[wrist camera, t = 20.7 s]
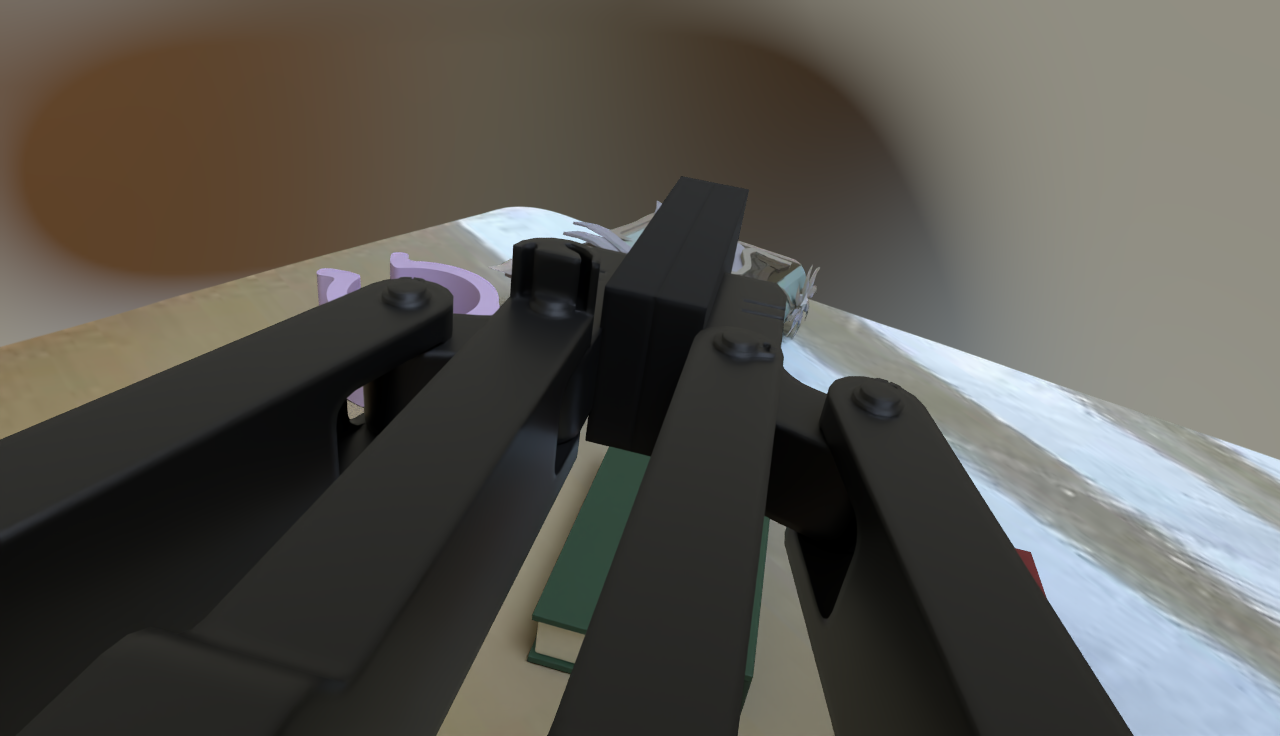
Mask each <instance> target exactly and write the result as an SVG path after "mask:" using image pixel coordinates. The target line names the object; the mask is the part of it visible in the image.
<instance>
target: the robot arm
mask: <svg viewBox="0 0 1280 736" xmlns="http://www.w3.org/2000/svg"><path fill="white" fill-rule="evenodd" d="M748 192H749V190H748V189H743V188H738V187H733V186H728V185H723V184H718V183H713V182H708V181H703V180H698V179H693V178H688V177H683V176H681V177H680V179H679V180H678V182H677V183H676V185H675V186H674V187H673V189H672V191H671V192H670V193H669V195H668V196H667V198H666V199H665V200H664V202H663V203H662V205H661V206H660V208H659V209H658V210H657V212H656V213H655V215H654V216H653V218H652V219H651V220H650V222H649V223H648V225H647V226H646V228H645V229H644V231H643V232H642V233H641V235H640V236H639V238H638V239H637V241H636V242H635V243H634V245H633V246H632V248H631V249H630V251H629V252H628V253H623V252H618V251H614V250H609V249H604V248H600V247H595V246H593V247H588V246H586V245H584V244H581V243H578V242H574V241H571V240H565V239H558V238H533V239H528V240H522V241H520V242H519V243H517V244H515V245H513V259H512V275H511V292H510V297H509V298H508V299H507V300H506V301H505V302H504V304H503V305H502V306H501V307H500V308H499V309H498V310H497V311H496V312H495V313H494V314H493V315H471V314H456V313H453V298H454V296H453V295H452V294H451V292H450V291H449V290H448V289H447V288H445V287H443V286H441V285H439V284H437V283H434V282H430V281H426V280H425V279H423V278H416V277H414V278H413V279H412V277H400V278H398V279H387V280H383V281H380V282H376V283H372V284H370V285H367V286H365V287H363V288H360V289H358V290H356V291H353V292H351V293H348V294H346V295H344V296H341V297H339V298H337V299H334V300H332V301H329V302H327V303H325V304H322V305H320V306H317V307H315V308H313V309H310V310H308V311H306V312H303V313H301V314H298V315H296V316H294V317H291V318H289V319H287V320H284V321H282V322H279V323H277V324H275V325H272V326H270V327H267V328H265V329H263V330H260V331H258V332H256V333H253V334H251V335H248V336H246V337H244V338H241V339H239V340H236V341H234V342H232V343H229V344H227V345H225V346H222V347H220V348H217V349H215V350H213V351H210V352H208V353H206V354H203V355H201V356H198V357H196V358H194V359H191V360H189V361H186V362H184V363H182V364H179V365H177V366H175V367H172V368H170V369H167V370H165V371H163V372H160V373H158V374H156V375H153V376H151V377H148V378H146V379H144V380H141V381H139V382H136V383H134V384H132V385H129V386H127V387H125V388H122V389H120V390H117V391H115V392H113V393H110V394H108V395H105V396H103V397H101V398H98V399H96V400H94V401H91V402H89V403H86V404H84V405H82V406H79V407H77V408H75V409H72V410H70V411H67V412H65V413H63V414H60V415H58V416H55V417H53V418H51V419H48V420H46V421H44V422H41V423H39V424H36V425H34V426H32V427H29V428H27V429H25V430H22V431H20V432H17V433H15V434H13V435H10V436H8V437H5V438H3V439H1V440H0V736H436V735H437V733H438V731H439V729H440V727H441V725H442V723H443V721H444V719H445V717H446V715H447V713H448V711H449V709H450V707H451V705H452V703H453V701H454V699H455V697H456V695H457V693H458V691H459V689H460V687H461V685H462V683H463V681H464V679H465V677H466V676H467V674H468V672H469V670H470V668H471V666H472V664H473V662H474V660H475V658H476V656H477V654H478V652H479V650H480V648H481V646H482V644H483V642H484V640H485V638H486V636H487V634H488V632H489V630H490V628H491V626H492V624H493V622H494V620H495V618H496V616H497V614H498V612H499V610H500V608H501V606H502V604H503V602H504V600H505V598H506V596H507V594H508V592H509V591H510V589H511V587H512V585H513V583H514V581H515V579H516V577H517V575H518V573H519V571H520V569H521V567H522V565H523V563H524V561H525V559H526V557H527V555H528V553H529V551H530V549H531V547H532V545H533V543H534V541H535V539H536V537H537V535H538V533H539V531H540V529H541V527H542V525H543V523H544V521H545V519H546V517H547V515H548V513H549V511H550V509H551V507H552V506H553V504H554V502H555V500H556V498H557V496H558V494H559V492H560V490H561V488H562V486H563V484H564V482H565V480H566V478H567V476H568V474H569V472H570V470H571V468H572V466H573V464H574V462H575V460H576V458H577V453H578V446H579V438H580V430H581V428H582V426H583V425H584V423H585V421H586V419H587V417H588V424H587V432H586V440H585V441H589V442H593V443H597V444H601V445H606V446H610V447H614V448H618V449H622V450H626V451H630V452H634V453H638V454H642V455H646V456H650V460H649V463H648V465H647V468H646V471H645V474H644V476H643V479H642V482H641V484H640V487H639V490H638V493H637V495H636V498H635V501H634V504H633V506H632V509H631V512H630V514H629V517H628V520H627V523H626V525H625V528H624V531H623V533H622V536H621V539H620V542H619V544H618V547H617V550H616V552H615V555H614V558H613V561H612V563H611V566H610V569H609V572H608V574H607V577H606V580H605V582H604V585H603V588H602V591H601V593H600V596H599V599H598V601H597V604H596V607H595V610H594V612H593V615H592V618H591V620H590V623H589V626H588V629H587V631H586V634H585V637H584V640H583V642H582V645H581V648H580V650H579V653H578V656H577V659H576V661H575V664H574V667H573V669H572V672H571V675H570V678H569V680H568V683H567V686H566V689H565V691H564V694H563V697H562V699H561V702H560V705H559V708H558V710H557V713H556V716H555V718H554V721H553V723H552V726H551V728H550V731H549V733H548V735H547V736H738V728H739V719H740V711H741V703H742V695H743V687H744V678H745V670H746V662H747V654H748V646H749V638H750V629H751V621H752V613H753V605H754V597H755V589H756V580H757V572H758V564H759V556H760V548H761V539H762V531H763V523H764V516H766V517H768V518H770V519H772V520H774V521H776V522H778V523H780V524H782V525H784V526H786V531H785V547H786V551H787V555H788V559H789V563H790V566H791V570H792V574H793V578H794V582H795V585H796V589H797V593H798V597H799V601H800V604H801V608H802V612H803V616H804V620H805V623H806V627H807V631H808V635H809V639H810V642H811V646H812V650H813V654H814V658H815V661H816V665H817V669H818V673H819V677H820V680H821V684H822V688H823V692H824V695H825V699H826V703H827V707H828V711H829V714H830V718H831V722H832V726H833V730H834V733H835V736H1134V735H1133V734H1132V732H1131V731H1130V729H1129V728H1128V726H1127V724H1126V723H1125V721H1124V720H1123V718H1122V717H1121V715H1120V713H1119V712H1118V710H1117V709H1116V707H1115V706H1114V704H1113V702H1112V701H1111V699H1110V698H1109V696H1108V694H1107V693H1106V691H1105V690H1104V688H1103V687H1102V685H1101V683H1100V682H1099V680H1098V679H1097V677H1096V676H1095V674H1094V672H1093V671H1092V669H1091V668H1090V666H1089V665H1088V663H1087V661H1086V660H1085V658H1084V657H1083V655H1082V653H1081V652H1080V650H1079V649H1078V647H1077V646H1076V644H1075V642H1074V641H1073V639H1072V638H1071V636H1070V635H1069V633H1068V631H1067V630H1066V628H1065V627H1064V625H1063V624H1062V622H1061V620H1060V619H1059V617H1058V616H1057V614H1056V612H1055V611H1054V609H1053V608H1052V606H1051V605H1050V603H1049V601H1048V600H1047V598H1046V597H1045V595H1044V594H1043V592H1042V590H1041V589H1040V587H1039V586H1038V584H1037V583H1036V581H1035V579H1034V578H1033V576H1032V575H1031V573H1030V571H1029V570H1028V568H1027V567H1026V565H1025V564H1024V562H1023V560H1022V559H1021V557H1020V556H1019V554H1018V553H1017V551H1016V549H1015V548H1014V546H1013V545H1012V543H1011V542H1010V540H1009V538H1008V537H1007V535H1006V534H1005V532H1004V530H1003V529H1002V527H1001V526H1000V524H999V523H998V521H997V519H996V518H995V516H994V515H993V513H992V512H991V510H990V508H989V507H988V505H987V504H986V502H985V500H984V499H983V497H982V496H981V494H980V493H979V491H978V489H977V488H976V486H975V485H974V483H973V482H972V480H971V478H970V477H969V475H968V474H967V472H966V471H965V469H964V467H963V466H962V464H961V463H960V461H959V459H958V458H957V456H956V455H955V453H954V452H953V450H952V448H951V447H950V445H949V444H948V442H947V441H946V439H945V437H944V436H943V434H942V433H941V431H940V430H939V428H938V426H937V425H936V423H935V422H934V420H933V418H932V417H931V415H930V414H929V412H928V411H927V409H926V407H925V406H924V405H923V404H922V403H921V402H920V401H919V400H918V399H917V398H916V397H915V396H914V395H912V394H911V393H909V392H907V391H906V390H904V389H903V388H901V386H899V385H897V384H895V383H892V382H890V383H888V381H887V380H884V379H880V378H875V379H874V378H869V377H862V376H848V377H844V378H841V379H837V380H835V381H834V382H833V383H832V385H831V386H830V387H829V390H828V393H827V394H826V393H823V392H821V391H818V390H816V389H813V388H811V387H809V386H807V385H805V384H803V383H801V382H800V381H798V380H797V379H795V378H794V377H792V376H791V375H790V374H789V373H788V372H787V371H786V370H785V369H784V367H783V360H784V356H783V353H782V349H781V341H782V333H783V325H784V317H785V309H786V302H787V295H786V294H785V293H784V291H783V290H782V289H781V287H780V286H779V285H778V283H774V282H769V281H765V280H760V279H755V278H750V277H746V276H741V275H736V274H732V273H731V272H732V267H733V262H734V258H735V253H736V248H737V244H738V239H739V234H740V229H741V225H742V220H743V215H744V210H745V206H746V201H747V197H748ZM361 387H363V397H364V413H362V414H361V415H359V416H357V417H356V418H353V419H349V416H348V411H347V398H348V397H349V396H350V395H351V394H352V393H353V392H354V391H356V390H357V389H359V388H361ZM588 415H589V416H588Z"/></svg>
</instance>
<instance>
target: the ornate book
mask: <svg viewBox="0 0 1280 736" xmlns="http://www.w3.org/2000/svg"><path fill="white" fill-rule="evenodd" d="M661 205H662V203H660V202H658V201H657V208H656V211H655V213H656V212H657V210H658V209H659V208H660V206H661ZM655 213H652V214H649V215H647V216H645V217H643V218H641V219H640V220H638V221H635V222H633V223H631V224H628V225H625V226H622V227H618V228H615V229H612V230H609V229H606V228H604V227H601V226H599V225H596V224H590V223H586V222H574V223H573V224H575V225H579V226H583V227H587V228H588V229H590V230H592V231H594V232H595V233H597V234H599V235H601V236H603V237H600V236H596V235H593V234H589V233H586V232H579V231H572V232H564V233H563V235H566V236H571V237H575V238H579V239H581V240H584V241H587V242H586V243H583V244H584V245H586V246H588V247H593V246H595V247H600V248H604V249H609V250H614V251H618V252H623V253H628V252H629V251H630V249H631V248H632V246H633V245H634V243H635V242H636V241H637V239H638V238H639V236H640V235H641V233H642V232H643V231H644V229H645V228H646V226H647V225H648V223H649V222H650V220H651V219H652V218H653V216H654V215H655ZM488 268H491V269H494V270H498V271H501V272H504V273H505V276H507V277H509V278H511V275H512V259H510V260H508V261H506V262H504V263H502V264H501V265H496V266H491V267H488ZM811 269H812V267H811V268H810V270H809V272H808V274H807V277H806V275H805V272H804V270H803V268H802V266H801V264H800V263H799V262H797V261H796V260H794V259H792V258H789V257H786V256H782V255H780V254H777V253H774V252H771V251H768V250H765V249H762V248H759V247H756V246H753V245H750V244H747V243H744V242H740V241H738V244H737V248H736V253H735V258H734V262H733V267H732V272H731V273H732V274H736V275H741V276H746V277H750V278H755V279H760V280H765V281H769V282H774V283H778V285H779V286H780V287H781V289H782V290H783V291H784V293H785V294H786V295H787V302H786V309H785V317H784V323H785V322H786V321H787V320H788V321H789V322H790V321H791V320H793V318H794V317H795V316H796V317H795V318H794V321H793V324H792V327H791V329H790V331H789V332H788V334H787V335H786V336H785V337H787V336H788V335H789V334H790V333H791V331H792V330H793V328H794V326H795V324H796V323H797V321H798V324H797V328H796V331H795V334H796V332H797V330H798V328H799V325H800V323H801V320H802V317H803V309H804V311H805V312H806V316H807V314H808V310H809V301H808V299H807V298H808V297H810V298H811V297H812V296H813V294H814V292H815V293H816V288H817V287H816V286H813V283H814V280H815V277H816V274H817V272H818V270H819V269H820V267H819V268H817V269H816V270H815V272H814V273H813V275H812V277H811V279H810V282H809V277H810V273H811ZM812 286H813V287H812ZM797 313H798V314H797ZM805 319H806V317H805ZM795 334H794V336H795ZM794 336H793V337H794ZM792 339H793V338H792Z"/></svg>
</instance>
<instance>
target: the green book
mask: <svg viewBox="0 0 1280 736" xmlns="http://www.w3.org/2000/svg"><path fill="white" fill-rule="evenodd" d="M649 460H650V456H646V455H642V454H638V453H634V452H630V451H626V450H622V449H618V448H614V447H610V446H609V448H608V450H607V453H606V455H605V457H604V459H603V461H602V464H601V466H600V468H599V470H598V472H597V475H596V477H595V479H594V481H593V483H592V485H591V488H590V490H589V492H588V494H587V496H586V499H585V501H584V503H583V505H582V507H581V509H580V512H579V514H578V516H577V518H576V520H575V523H574V525H573V527H572V529H571V531H570V534H569V536H568V538H567V540H566V542H565V544H564V547H563V549H562V551H561V553H560V555H559V558H558V560H557V562H556V564H555V566H554V569H553V571H552V573H551V575H550V577H549V579H548V582H547V584H546V586H545V588H544V590H543V593H542V595H541V597H540V599H539V601H538V604H537V606H536V608H535V610H534V612H533V614H532V620H534V621H538V629H537V636H536V639H535V641H534V643H533V646H532V648H531V650H530V652H529V655H528V661H529V662H533V663H536V664H540V665H543V666H546V667H550V668H553V669H557V670H560V671H564V672H567V673H571V672H572V669H573V667H574V664H575V661H576V659H577V656H578V653H579V650H580V648H581V645H582V642H583V640H584V637H585V634H586V631H587V629H588V626H589V623H590V620H591V618H592V615H593V612H594V610H595V607H596V604H597V601H598V599H599V596H600V593H601V591H602V588H603V585H604V582H605V580H606V577H607V574H608V572H609V569H610V566H611V563H612V561H613V558H614V555H615V552H616V550H617V547H618V544H619V542H620V539H621V536H622V533H623V531H624V528H625V525H626V523H627V520H628V517H629V514H630V512H631V509H632V506H633V504H634V501H635V498H636V495H637V493H638V490H639V487H640V484H641V482H642V479H643V476H644V474H645V471H646V468H647V465H648V463H649ZM769 522H770V518H768V517H766V516H764V523H763V531H762V539H761V548H760V556H759V564H758V572H757V580H756V589H755V597H754V605H753V613H752V621H751V629H750V638H749V646H748V654H747V662H746V670H745V678H744V687H743V695H742V703H741V711H740V715H741V712H742V709H743V706H744V703H745V699H746V696H747V693H748V690H749V687H750V684H751V681H752V678H753V672H754V662H755V653H756V644H757V634H758V625H759V616H760V606H761V597H762V588H763V578H764V569H765V559H766V550H767V541H768V531H769Z"/></svg>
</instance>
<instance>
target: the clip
mask: <svg viewBox="0 0 1280 736" xmlns="http://www.w3.org/2000/svg"><path fill="white" fill-rule="evenodd" d="M400 277H412V279H413V278H414V277H416V278H423V279H425V280H426V281H430V282H434V283H437V284H439V285H441V286H443V287H445V288H447V289H448V290H449V291H450V292H451V294H452V295H453V296H454V298H453V313H456V314H471V315H493V314H494V313H495V312H496V311H497V310H498V309H499V308H500V306H499V303H498V301H499V297H498V293H497V291H496V289H495V288H494V286H493V285H492V284H491V283H489V282H488V281H487V280H486V279H484V278H482V277H481V276H479V275H477V274H475V273H472V272H470V271H467V270H465V269H461V268H458V267H454V266H450V265H445V264H440V263H433V262H423V261H411V260H409V258H408V254H407V253H403V252H395V253H392V254H391V259H390V279H398V278H400ZM317 283H318V298H319V306H320V305H322V304H325V303H327V302H329V301H332V300H334V299H337V298H339V297H341V296H344V295H346V294H348V293H351V292H353V291H356V290H358V289H360V288H361V286H360V275H358V274H355V273H352V272H349V271H343V270H336V269H330V268H323V269H320V270H318V271H317ZM347 399H348V400H350V401H351V402H353V403H355V404H357V405H359V406H362V407H364V397H363V387H361V388H359V389H357V390H356V391H354V392H353V393H352V394H351V395H350V396H349V397H348V398H347Z"/></svg>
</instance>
